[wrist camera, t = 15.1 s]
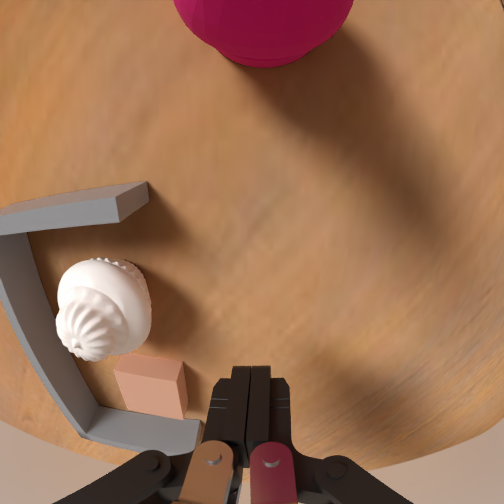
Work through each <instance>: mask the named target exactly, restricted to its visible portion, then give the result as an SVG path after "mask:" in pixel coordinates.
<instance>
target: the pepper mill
mask: <svg viewBox="0 0 504 504" xmlns="http://www.w3.org/2000/svg"><path fill="white" fill-rule="evenodd" d="M173 1H174V4H175V7H176V9H177V11H178V12H179V14H180V16H181V18H182V20H183V21H184V23H185V24H186V26H187V27H188V28H189V29H190V30H191V31H192V32H193V34H195V35H196V36H197V37H199V38H200V39H201V40H202V41H204V42H205V43H207V44H209V45H211V46H213V47H214V48H216V49H217V50H218V51H219V52H220V53H221V54H223V55H224V56H225V57H227V58H229V59H230V60H232V61H234V62H237V63H240V64H243V65H246V66H251V67H258V68H270V67H277V66H282V65H285V64H289V63H292V62H294V61H296V60H298V59H300V58H301V57H303V56H304V55H305V54H307V53H308V52H309V51H310V50H311V49H313V48H315V47H317V46H319V45H321V44H322V43H324V42H325V41H326V40H328V39H329V38H331V37H332V36H333V35H334V34H335V33H336V32H337V31H338V30H339V29H340V28H341V26H342V24H343V23H344V21H345V20H346V18H347V16H348V14H349V11H350V9H351V7H352V5H353V0H173Z"/></svg>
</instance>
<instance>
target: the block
mask: <svg viewBox="0 0 504 504" xmlns="http://www.w3.org/2000/svg"><path fill="white" fill-rule="evenodd" d="M113 371H114V374H115V377H116V380H117V383H118V385H119V388H120V391H121V393H122V396H123V399H124V401H125V404H126V406H127V409H128V410H133V411H137V412H142V413H146V414H151V415H157V416H162V417H167V418H173V419H180V420H184V417H185V413H186V409H187V405H188V401H189V400H188V394H187V387H186V381H185V374H184V367H183V361H179V360H172V359H164V358H157V357H151V356H145V355H139V354H133V353H126V354H122V355H121V356H120V358H119V360H118V362H117V364H116V366H115V367H114V369H113Z"/></svg>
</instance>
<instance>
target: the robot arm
mask: <svg viewBox="0 0 504 504" xmlns="http://www.w3.org/2000/svg"><path fill="white" fill-rule="evenodd" d="M502 3H503V5H504V0H502ZM243 468H250V486H251V487H250V488H251V504H298V502H300V503H304V504H413V503H412V502H410V501H409V500H407V499H406V498H404V497H403V496H401V495H399V494H398V493H397V492H395V491H393V490H392V489H391V488H389V487H388V486H386V485H385V484H384V483H382V482H381V481H379V480H378V479H376V478H375V477H374V476H372V475H371V474H370V473H368V472H367V471H365V470H364V469H363V468H361V467H360V466H359V465H357V464H356V463H355V462H353V461H352V460H351V459H349V458H347V457H345V456H340V455H334V456H330V457H327V458H325V459H323V460H322V459H317V458H312V457H308V456H305V455H302V454H301V453H299V452H298V451H297V450H296V449H295V448H294V446H293V444H292V440H291V414H290V390H289V386H288V384H287V382H286V381H285V379H284V378H271V366H252V367H251V366H233V368H232V374H231V379H229V378H220V379H219V381H218V382H217V383H216V385H215V386H214V387H213V392H212V397H211V401H210V408H209V411H208V416H207V421H206V426H205V431H204V436H203V440H202V442H201V444H200V445H199V446H197V448H196V449H194V450H193V451H191V452H189V453H185V454H180V455H173V456H167V455H166V454H165V453H163V452H161V451H159V450H146V451H143V452H142V453H140V454H138V455H137V456H135V457H134V458H132V459H131V460H129V461H127V462H126V463H124V464H123V465H121V466H119V467H118V468H116V469H115V470H113V471H112V472H109V473H108V474H106V475H104V476H103V477H101V478H99V479H98V480H96V481H94V482H92V483H91V484H89V485H87V486H85V487H83V488H81V489H80V490H78V491H76V492H74V493H72V494H70V495H68V496H67V497H65V498H63V499H61V500H59V501H57V502H55V503H53V504H238V502H239V496H240V491H241V486H242V474H243Z"/></svg>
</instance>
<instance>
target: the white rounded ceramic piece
mask: <svg viewBox="0 0 504 504" xmlns="http://www.w3.org/2000/svg"><path fill="white" fill-rule="evenodd" d="M58 305H59V309H60V310H59V313H58V314H57V317H56V327H57V334H58V336H59V338H60V339H61V341H62V343H63V345H64V346H66V347H68V350H69V352H72V353H74V354H75V355H76V357H78V358H79V357H82V358H83V359H84V360H85V361H89V360H91V361H94V362H97V361H99V360H100V359H107V357H108V355H122V354H126V353H129V352H131V351H133V350H135V349H137V348H138V347H140V346H141V345H142V344H143V343H144V342H145V340H146V339H147V337H148V335H149V332H150V328H151V312H152V309H151V300H150V296H149V292H148V288H147V284H146V280H145V278H144V276H143V274H142V273H141V271H140V270H138V268H137V267H136V266H134V264H131V263H130V262H129V261H125V260H122V259H113V258H103V257H99V258H91V260H85V261H81V262H79V263H77V264H75V265H73V266H71V267H70V268H69V269H68V270H67V271H66V272H65V273H64V275H63V276H62V278H61V281H60V284H59V288H58Z"/></svg>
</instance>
